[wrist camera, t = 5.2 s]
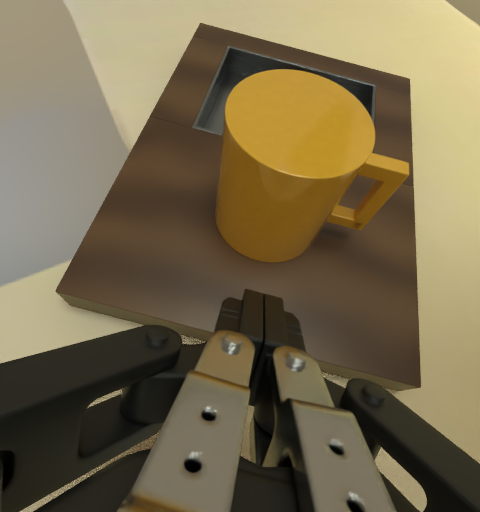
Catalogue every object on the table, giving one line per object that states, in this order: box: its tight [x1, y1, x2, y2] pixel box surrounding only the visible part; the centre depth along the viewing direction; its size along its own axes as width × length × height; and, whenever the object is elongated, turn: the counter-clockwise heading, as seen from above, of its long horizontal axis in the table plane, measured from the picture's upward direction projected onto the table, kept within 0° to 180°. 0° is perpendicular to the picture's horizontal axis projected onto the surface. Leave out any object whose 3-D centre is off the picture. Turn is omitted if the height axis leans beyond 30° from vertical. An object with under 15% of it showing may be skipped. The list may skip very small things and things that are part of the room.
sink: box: [192, 45, 376, 153], centre depth 30 cm, size 12×15×2 cm
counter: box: [56, 23, 421, 391], centre depth 27 cm, size 30×22×2 cm
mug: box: [215, 69, 409, 263], centre depth 19 cm, size 10×7×8 cm
